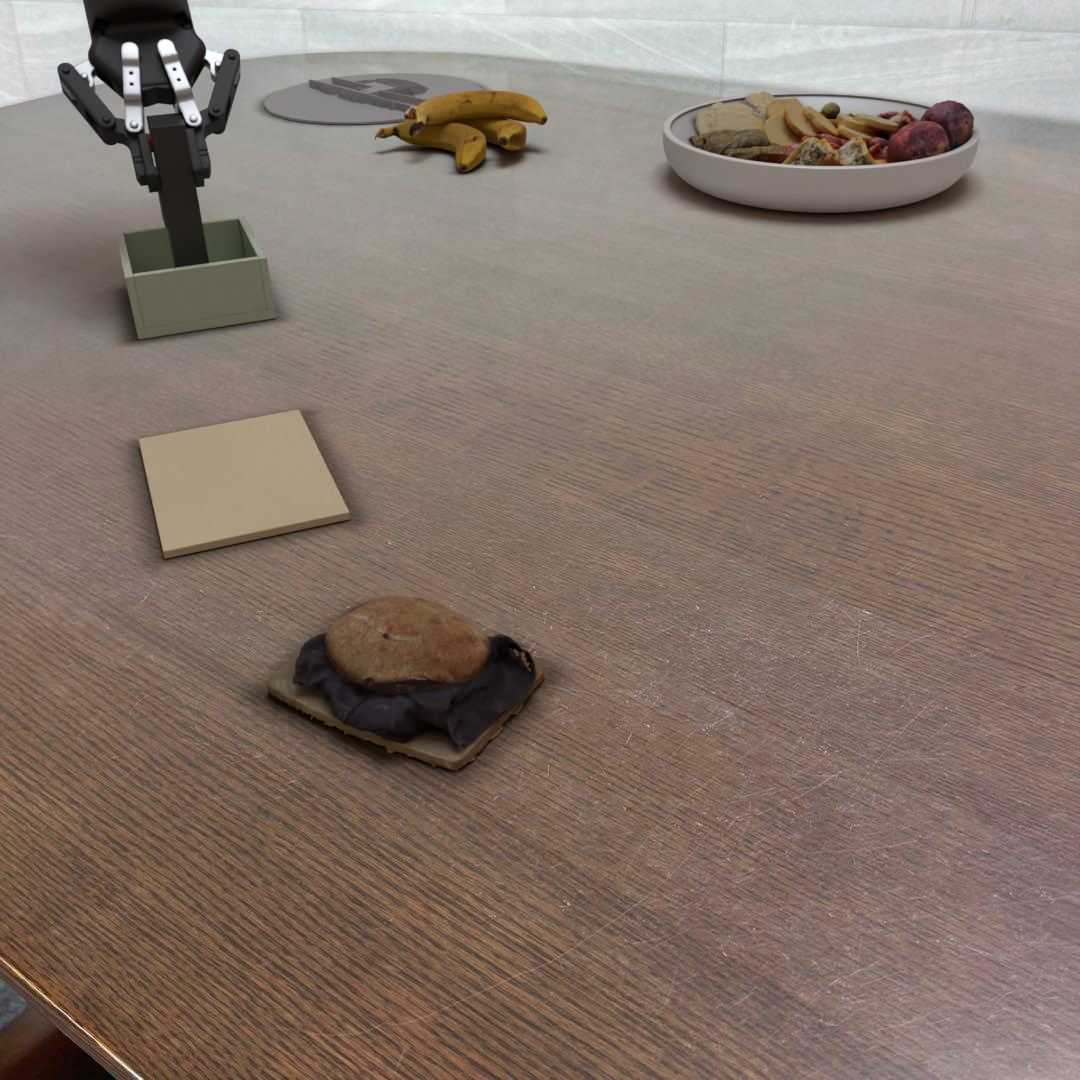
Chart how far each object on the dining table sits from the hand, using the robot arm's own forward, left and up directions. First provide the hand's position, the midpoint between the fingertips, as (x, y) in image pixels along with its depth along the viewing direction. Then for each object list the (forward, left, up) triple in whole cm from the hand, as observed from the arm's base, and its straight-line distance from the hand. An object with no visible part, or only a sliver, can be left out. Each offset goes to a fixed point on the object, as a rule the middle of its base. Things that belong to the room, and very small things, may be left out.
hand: (176, 183), depth 88 cm
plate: (+61, +42, -10) cm, 75 cm away
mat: (-16, -23, -10) cm, 30 cm away
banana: (+46, +14, -10) cm, 49 cm away
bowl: (+58, -22, -10) cm, 63 cm away
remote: (+1, +2, -8) cm, 8 cm away
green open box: (+1, +2, -10) cm, 10 cm away
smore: (-24, -44, -10) cm, 51 cm away
